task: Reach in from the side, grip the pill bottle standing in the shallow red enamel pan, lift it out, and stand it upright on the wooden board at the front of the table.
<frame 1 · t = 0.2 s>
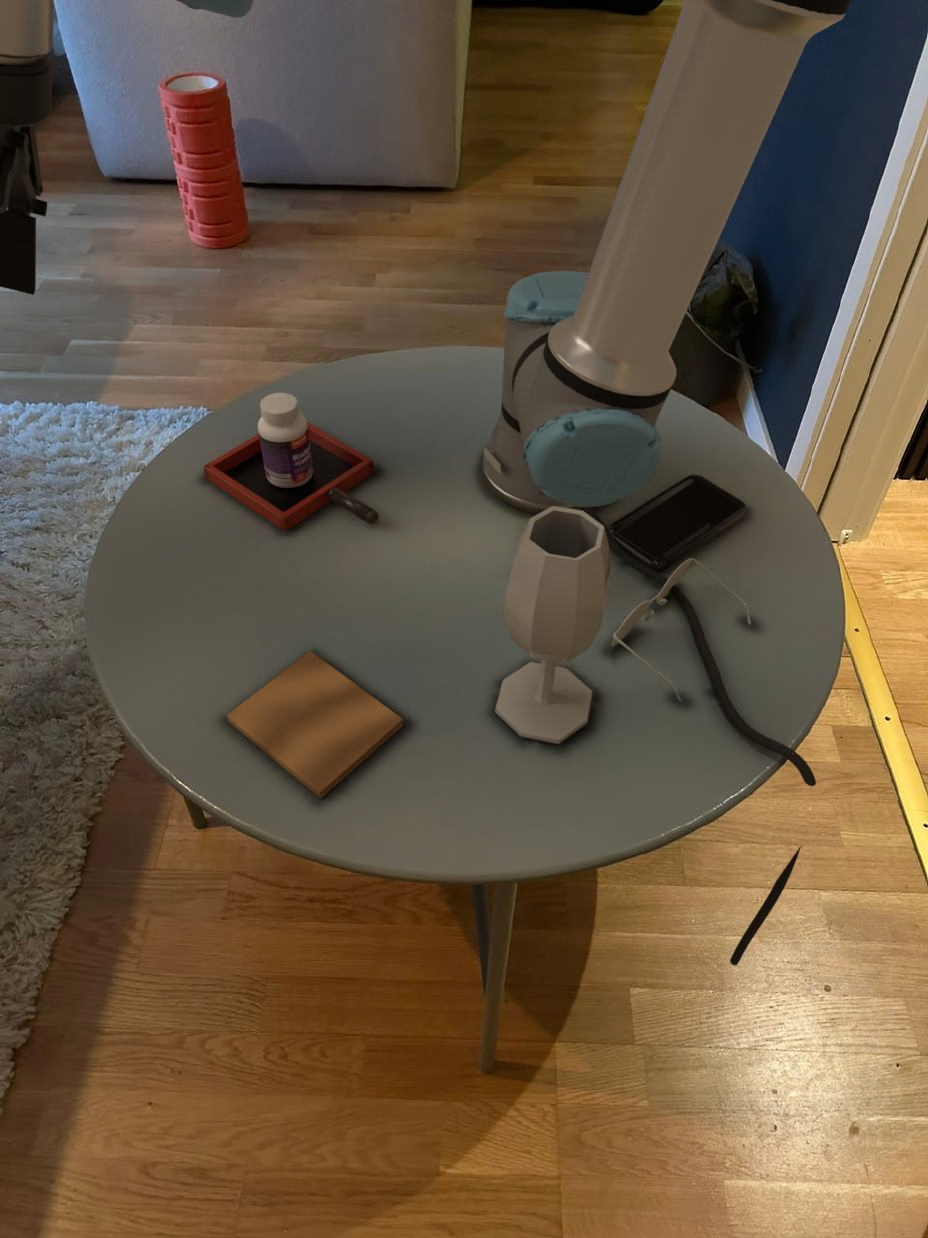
pill bottle: (290, 476, 104), resting on pan
phone: (676, 526, 99), on the table
wineglass: (543, 706, 82), on the table
wooden board: (315, 723, 81), on the table
sunglasses: (678, 640, 88), on the table
pan: (290, 475, 104), on the table
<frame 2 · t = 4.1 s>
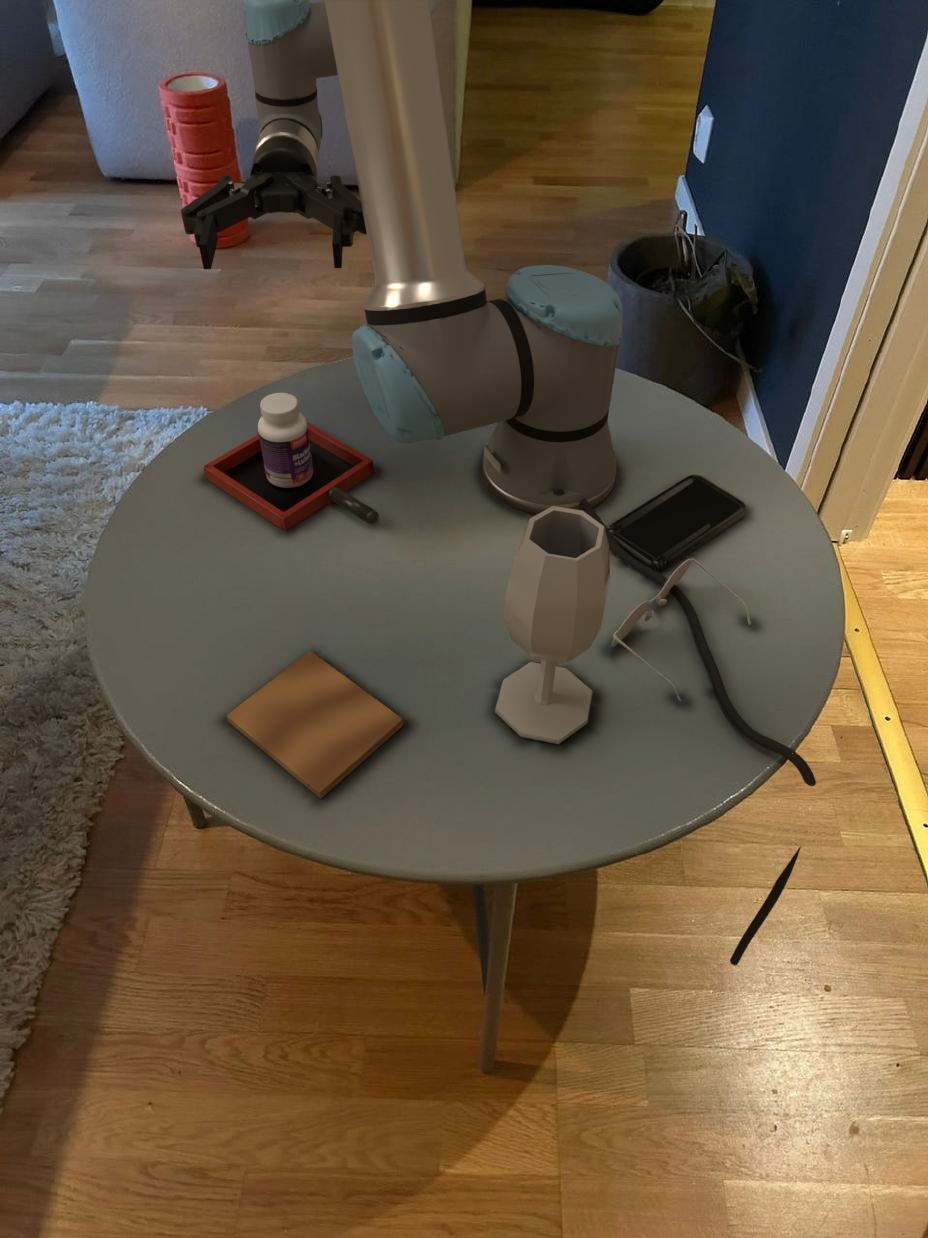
hand: (271, 256, 94), 22 cm above the table, tool horizontal, fingers open, 13 cm apart
nothing on the table moved.
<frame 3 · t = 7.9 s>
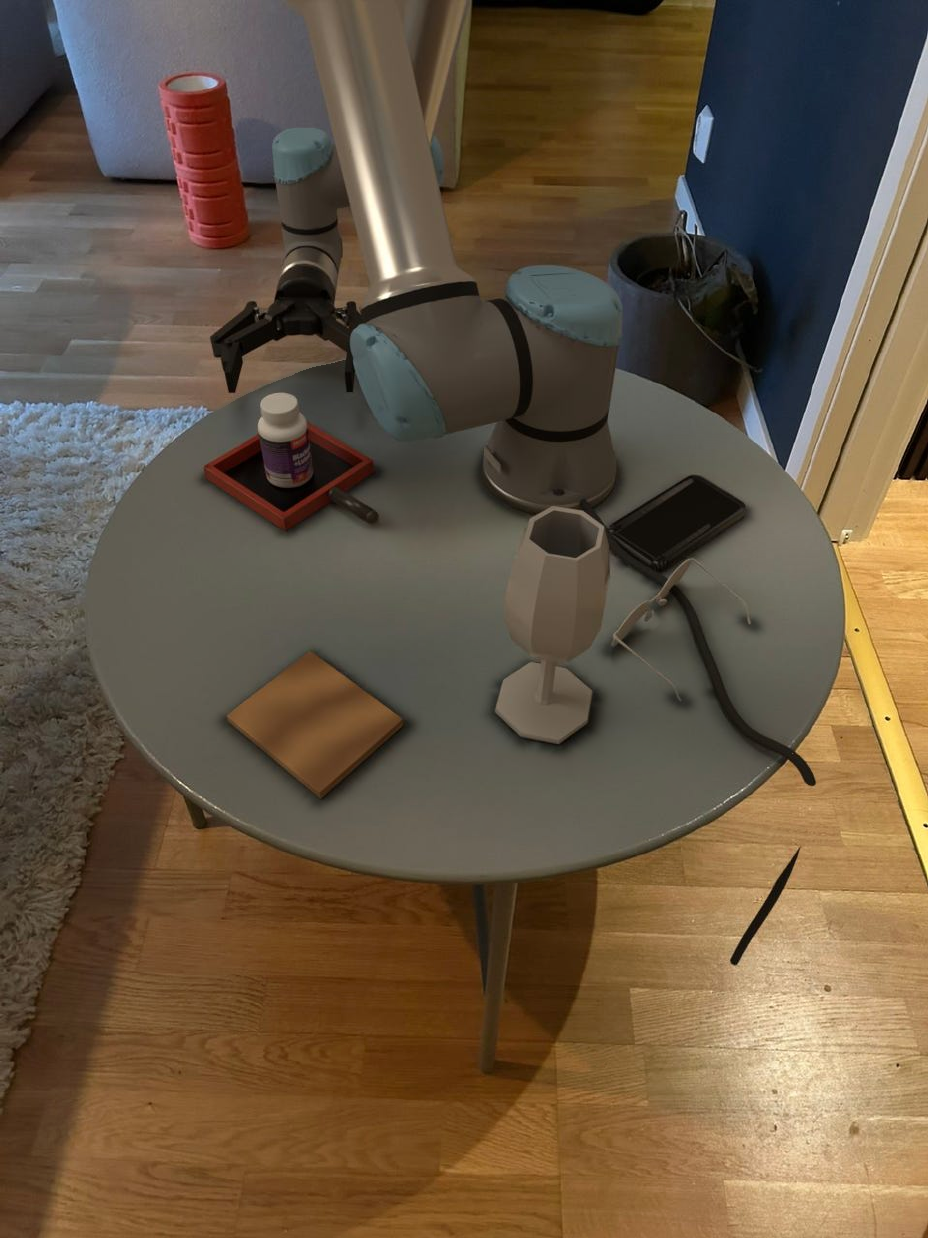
hand: (289, 382, 104), 7 cm above the table, tool horizontal, fingers open, 13 cm apart
nothing on the table moved.
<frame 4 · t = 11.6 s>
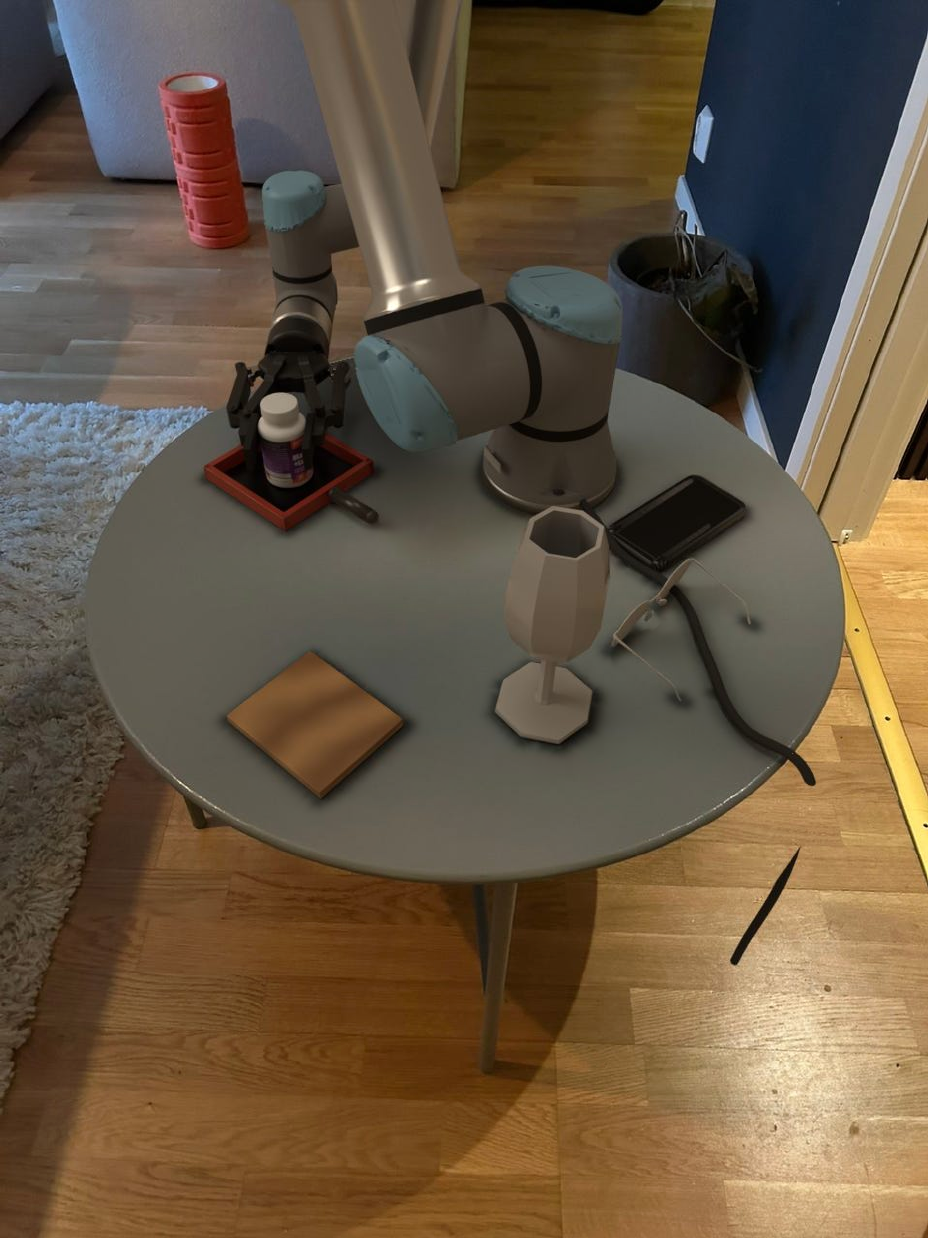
hand: (277, 459, 96), 6 cm above the table, tool horizontal, fingers closed on pill bottle, 5 cm apart
pill bottle: (290, 476, 104), resting on pan, touching gripper
everything else where it was.
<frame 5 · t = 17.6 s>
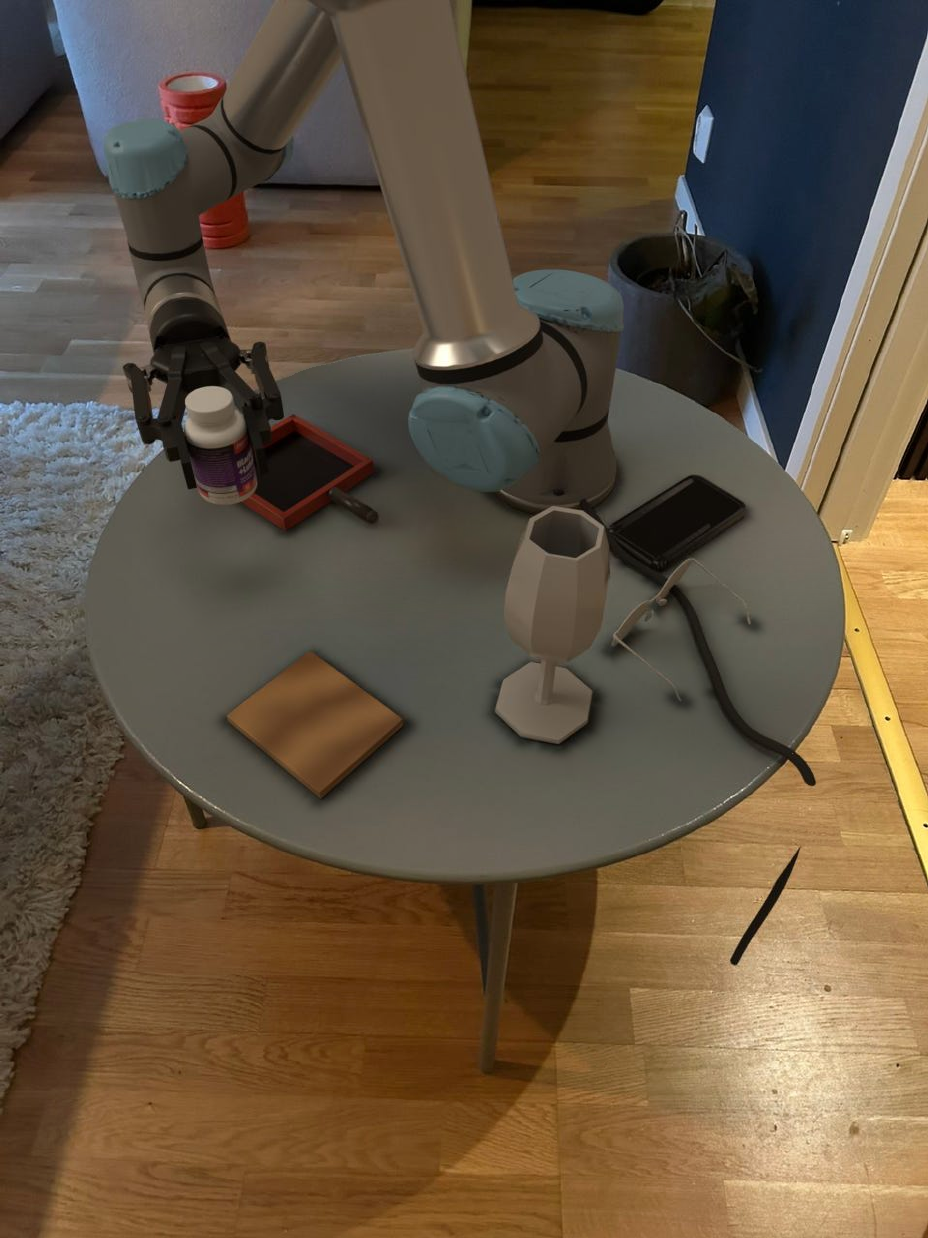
hand: (226, 468, 76), 18 cm above the table, tool horizontal, fingers closed on pill bottle, 5 cm apart
pill bottle: (229, 489, 84), point 12 cm above the table, touching gripper
everything else where it was.
when the fingers open (7 cm above the table, at t = 23.5 s): pill bottle stays where it is, resting on wooden board.
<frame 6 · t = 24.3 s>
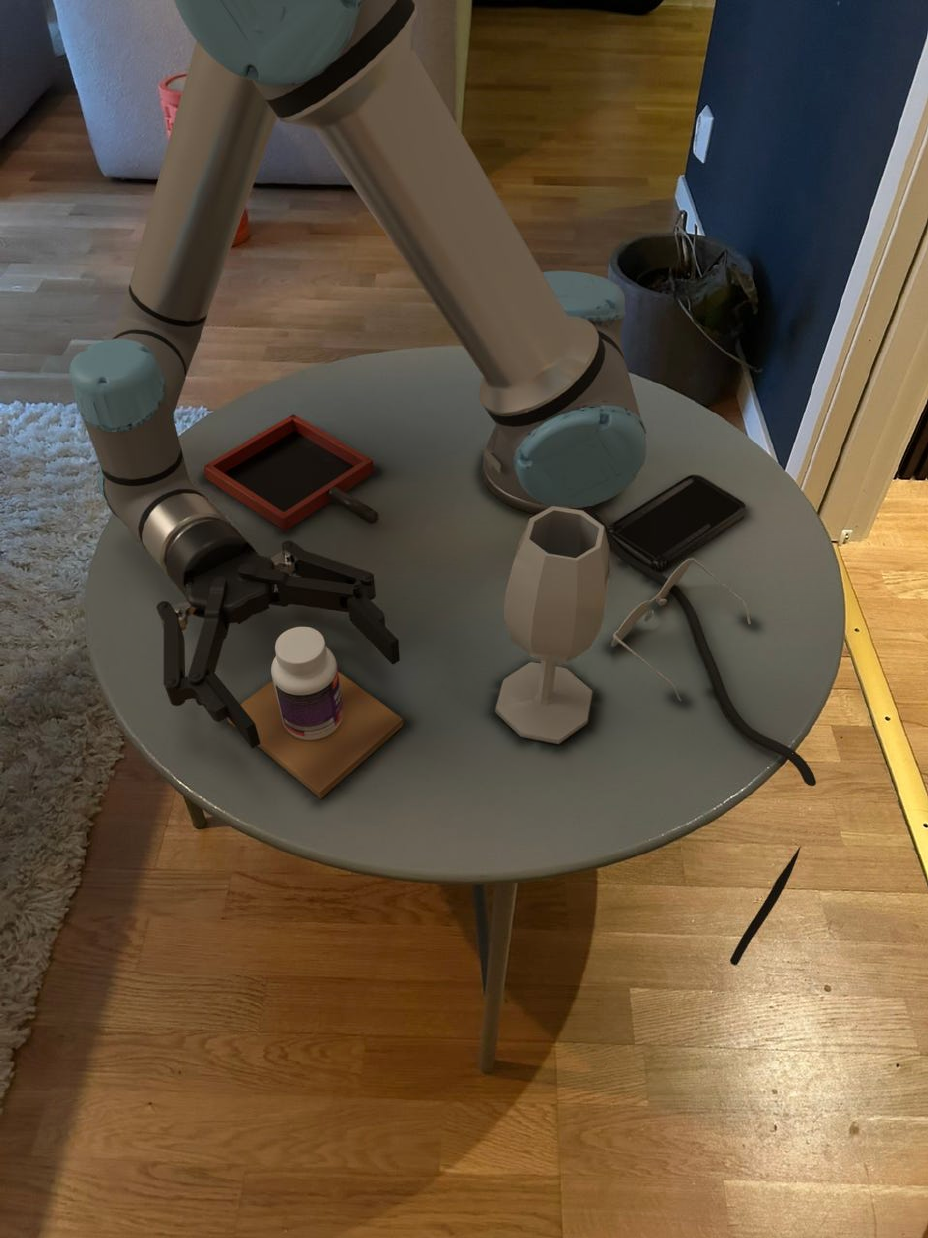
hand: (327, 693, 73), 8 cm above the table, tool horizontal, fingers open, 13 cm apart
pill bottle: (313, 718, 80), point 1 cm above the table, touching wooden board
everything else where it was.
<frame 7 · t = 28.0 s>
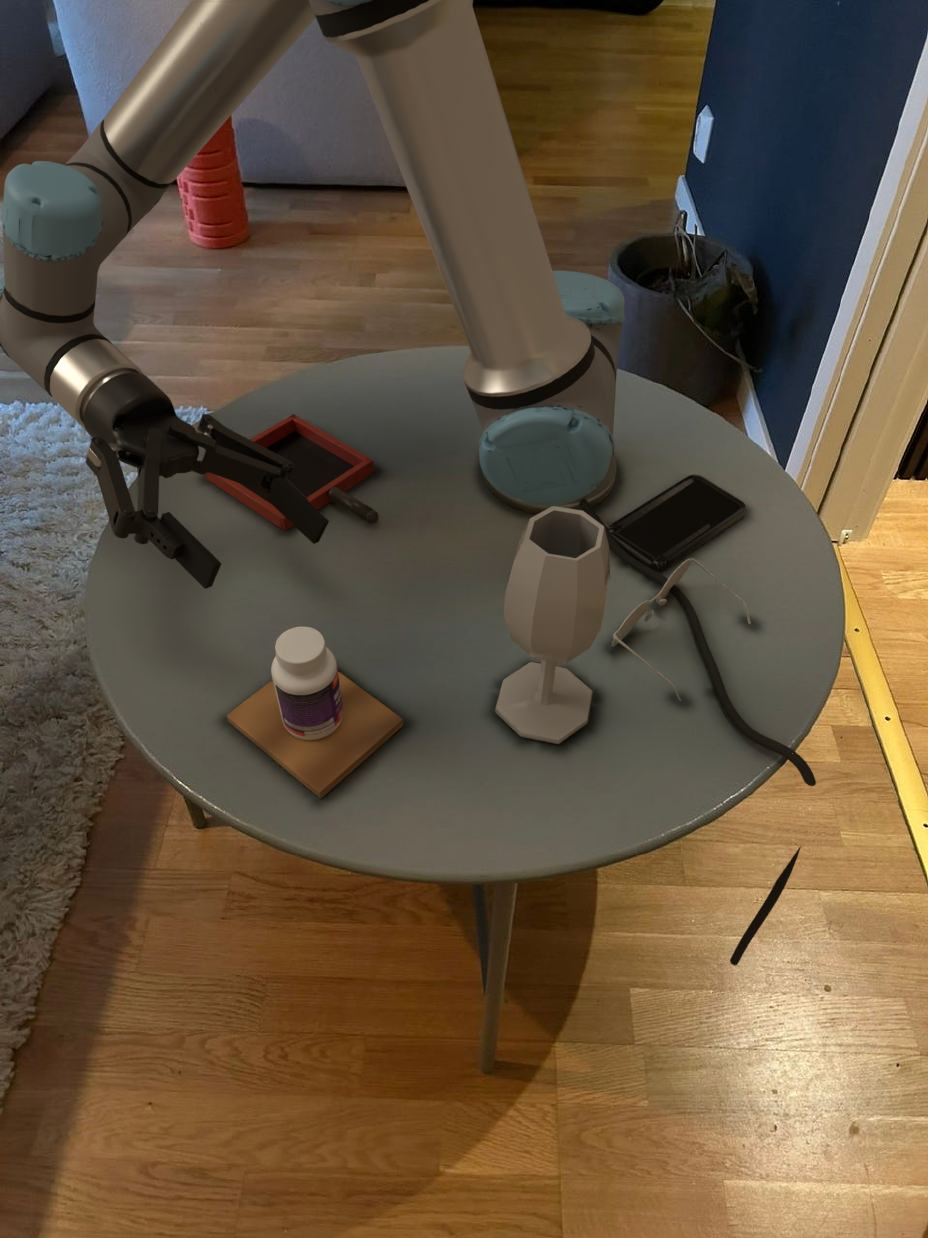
hand: (271, 553, 79), 11 cm above the table, tool tilted 75°, fingers open, 13 cm apart
nothing on the table moved.
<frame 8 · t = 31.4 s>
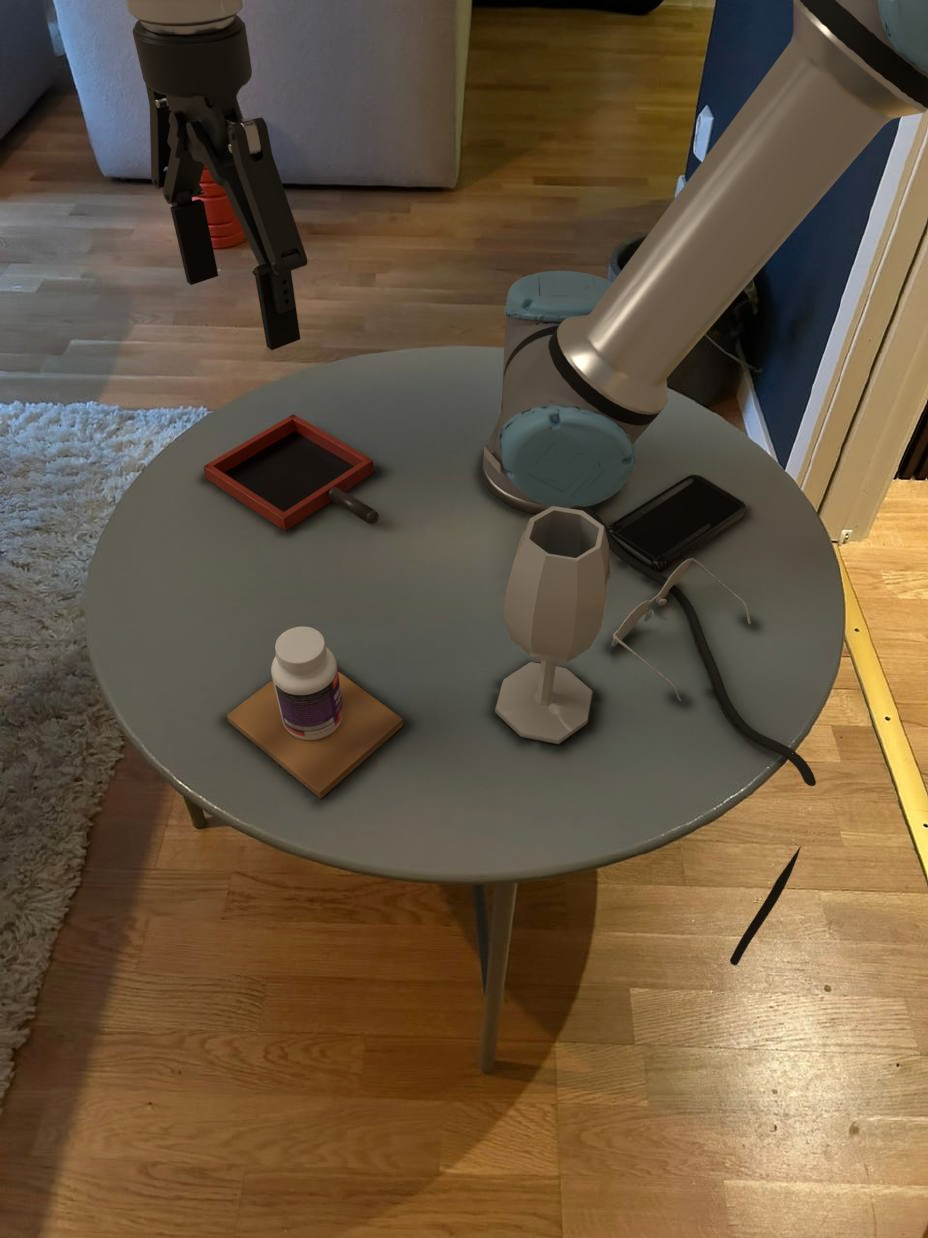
hand: (241, 309, 77), 27 cm above the table, tool pointing down, fingers open, 13 cm apart
nothing on the table moved.
at the end: pill bottle inside the target area on the wooden board (0.1 cm from its centre), point 0.8 cm above the wooden board's base; pill bottle tilted 0°; the gripper is holding nothing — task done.
